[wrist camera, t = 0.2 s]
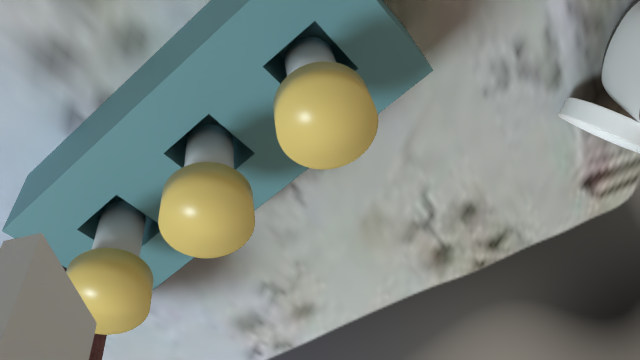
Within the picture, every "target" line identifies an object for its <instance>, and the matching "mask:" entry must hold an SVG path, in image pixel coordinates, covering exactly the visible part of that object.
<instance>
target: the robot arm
mask: <svg viewBox="0 0 640 360" xmlns="http://www.w3.org/2000/svg"><path fill="white" fill-rule="evenodd" d="M96 325H97V323H96V321H95V319H94V318H93V316H92V314H91V313H90V311H89V309H88V308H87V306H86V304H85V303H84V301H83V300H82V298H81V296H80V295H79V293H78V291H77V290H76V288H75V286H74V285H73V283H72V281H71V280H70V278H69V277H68V275H67V273H66V272H65V270H64V268H63V267H62V265H61V263H60V262H59V260H58V258H57V257H56V255H55V254H54V252H53V250H52V249H51V247H50V245H49V244H48V242H47V240H46V239H45V237H44V235H43V234H42V233H38V234H34V235H29V236H25V237H20V238H15V239H11V240H6V241H3V244H2V246H1V248H0V360H89V356H90V352H91V347H92V343H93V339H94V334H95V330H96Z"/></svg>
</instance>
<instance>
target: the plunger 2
mask: <svg viewBox="0 0 640 360" xmlns="http://www.w3.org/2000/svg"><path fill="white" fill-rule="evenodd" d="M284 63H285V68H286V73H287V77H286V78H285V79H284V80H283V82H282V83H281V84H280V86H279V88H278V89H277V92H276V94H275V98H274V103H273V113H274V120H275V127H276V134H277V139H278V142H279V144H280V146H281V148H282V150H283V151H284V152H285V154H286V155H287V156H288V157H289V158H291V159H292V160H293V161H295V162H296V163H298V164H300V165H303V166H305V167H308V168H313V169H333V168H338V167H341V166H344V165H346V164H349V163H350V162H352V161H354V160H356V159H357V158H359V157H360V156H361V155H362V154H363V153H364V152H365V151H366V150H367V149H368V148H369V146H370V145H371V143H372V141H373V140H374V138H375V135H376V132H377V128H378V115H377V110H376V107H375V105H374V102H373V100H372V98H371V95H370V93H369V91H368V88H367V86H366V84H365V82H364V81H363V79H362V78H361V77H360V75H359V74H357V73H356V72H355V71H354V70H353V69H351V68H349V67H347V66H346V65H343V64H340V63H336V61H335V58H334V55H333V52H332V50H331V48H330V46H329V45H328V44H327V43H326V42H325V41H323V40H322V39H320V38H317V37H303V38H300V39H298V40H296V41H295V42H293V43H292V44H291V45H290V47H289V48H288V49H287V51H286V54H285V59H284Z"/></svg>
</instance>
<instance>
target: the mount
mask: <svg viewBox="0 0 640 360" xmlns="http://www.w3.org/2000/svg"><path fill="white" fill-rule="evenodd" d="M303 37H317V38H320V39H322V40H323V41H325V42H326V43H327V44H328V45H329V46H330V48H331V50H332V52H333V55H334V58H335V61H336V63H340V64H343V65H346V66H347V67H349V68H351V69H353V70H354V71H355V72H356V73H357V74H359V75H360V77H361V78H362V79H363V81H364V82H365V84H366V86H367V88H368V91H369V93H370V95H371V98H372V100H373V102H374V105H375V107H376V110H377V114H378V113H379V112H381V111H382V110H383V109H385V108H386V107H387V106H388V105H390V104H391V103H392V102H393V101H395V100H396V99H397V98H399V97H400V96H401V95H402V94H404V93H405V92H406V91H408V90H409V89H410V88H411V87H413V86H414V85H415V84H416V83H418V82H419V81H420V80H422V79H423V78H424V77H425V76H427V75H428V74H429V73H430V72H432V71H433V69H432V68H431V66H430V65H429V63H428V62H427V60H426V58H425V57H424V55H423V54H422V52H421V51H420V49H419V48H418V46H417V45H416V43H415V42H414V40H413V39H412V37H411V36H410V34H409V33H408V31H407V30H406V29H405V28H404V26H403V25H402V24H401V23H400V21H399V20H398V19H397V18H396V16H395V15H394V14H393V13H392V11H391V10H390V9H389V8H388V6H387V5H386V4H385V3H384V1H383V0H211V1H210V2H209V3H208V4H207V5H206V6H204V7H203V8H202V9H201V10H200V11H199V12H198V13H197V14H196V15H195V16H194V17H193V18H192V19H191V20H190V21H189V22H188V23H187V24H186V25H185V26H184V27H183V28H181V29H180V30H179V31H178V32H177V33H176V34H175V35H174V36H173V37H172V38H171V39H170V40H169V41H168V42H167V43H166V44H165V45H164V46H163V47H162V48H161V49H160V50H158V51H157V52H156V53H155V54H154V55H153V56H152V57H151V58H150V59H149V60H148V61H147V62H146V63H145V64H144V65H143V66H142V67H141V68H140V69H139V70H138V71H137V72H135V73H134V74H133V75H132V76H131V77H130V78H129V79H128V80H127V81H126V82H125V83H124V84H123V85H122V86H121V87H120V88H119V89H118V90H117V91H116V92H115V93H113V94H112V95H111V96H110V97H109V98H108V99H107V100H106V101H105V102H104V103H103V104H102V105H101V106H100V107H99V108H98V109H97V110H96V111H95V112H94V113H93V114H92V115H90V116H89V117H88V118H87V119H86V120H85V121H84V122H83V123H82V124H81V125H80V126H79V127H78V128H77V129H76V130H75V131H74V132H73V133H72V134H71V135H70V136H69V137H67V138H66V139H65V140H64V141H63V142H62V143H61V144H60V145H59V146H58V147H57V148H56V149H55V150H54V151H53V152H52V153H51V154H50V155H49V156H48V157H47V158H46V159H44V160H43V161H42V162H41V163H40V164H39V165H38V166H37V167H36V168H35V169H34V170H33V171H32V172H31V173H30V174H29V175H28V176H27V178H26V181H25V183H24V185H23V187H22V189H21V191H20V193H19V196H18V198H17V200H16V202H15V204H14V206H13V208H12V211H11V213H10V215H9V217H8V219H7V221H6V223H5V226H4V228H3V230H2V231H3V232H5V233H6V234H8V235H10V236H12V237H13V238H20V237H25V236H29V235H34V234H38V233H42V234H43V235H44V237H45V239H46V240H47V242H48V244H49V245H50V247H51V249H52V250H53V252H54V254H55V255H56V257H57V258H58V260H59V262H60V263H61V265H62V266H64V267H65V268H67V267H68V265H69V264H70V262H71V261H72V260H73V259H74V258H75V257H77V256H78V255H80V254H82V253H83V252H86V251H89V250H92V246H93V242H94V239H95V235H96V231H97V227H98V224H99V220H100V216H101V213H102V211H103V209H104V208H105V207H106V206H107V205H109V204H111V203H114V202H128V203H129V204H131V205H132V206H134V207H135V208H137V209H138V210H140V211H141V212H143V213H144V214H145V217H146V223H145V228H144V234H143V240H142V246H141V252H140V258H141V259H142V260H144V261H145V262H146V263H147V265H148V266H149V267H150V269H151V271H152V274H153V289H155V288H156V287H157V286H158V285H160V284H161V283H162V282H164V281H165V280H166V279H167V278H169V277H170V276H171V275H172V274H174V273H175V272H176V271H178V270H179V269H180V268H181V267H183V266H184V265H185V264H187V263H188V262H189V261H190V260H192V259H193V258H194V257H192V256H189V255H185V254H183V253H181V252H179V251H177V250H175V249H174V248H173V247H171V246H170V245H169V244H168V243H167V242H166V241H165V239H164V238H163V236H162V234H161V232H160V229H159V225H158V218H159V211H160V204H161V197H162V191H163V188H164V185H165V183H166V181H167V180H168V179H169V177H170V176H171V175H172V174H173V173H175V172H176V171H177V170H179V169H181V168H182V167H184V164H185V154H186V144H187V138H188V136H189V134H190V133H191V132H192V131H193V130H194V129H196V128H197V127H200V126H203V125H216V126H219V127H222V128H223V129H225V130H226V131H227V132H228V133H229V134H230V135H231V137H232V139H233V149H234V169H236V170H237V171H238V172H240V173H241V174H242V175H243V176H244V177H245V178H246V179H247V180H248V182H249V184H250V186H251V188H252V192H253V201H254V210H255V209H257V208H258V207H259V206H261V205H262V204H263V203H264V202H266V201H267V200H268V199H270V198H271V197H272V196H273V195H275V194H276V193H277V192H278V191H280V190H281V189H282V188H284V187H285V186H286V185H287V184H289V183H290V182H291V181H293V180H294V179H295V178H296V177H298V176H299V175H300V174H301V173H303V172H304V171H305V170H307V169H308V167H305V166H303V165H300V164H298V163H296V162H295V161H293V160H292V159H291V158H289V157H288V156H287V155H286V154H285V152H284V151H283V150H282V148H281V146H280V144H279V142H278V139H277V134H276V127H275V120H274V113H273V103H274V98H275V94H276V92H277V89H278V88H279V86H280V84H281V83H282V82H283V80H284V79H285V78H286V77H287V73H286V68H285V63H284V59H285V54H286V51H287V49H288V48H289V47H290V45H291V44H292V43H293V42H295V41H296V40H298V39H300V38H303ZM153 289H152V290H153Z"/></svg>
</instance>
